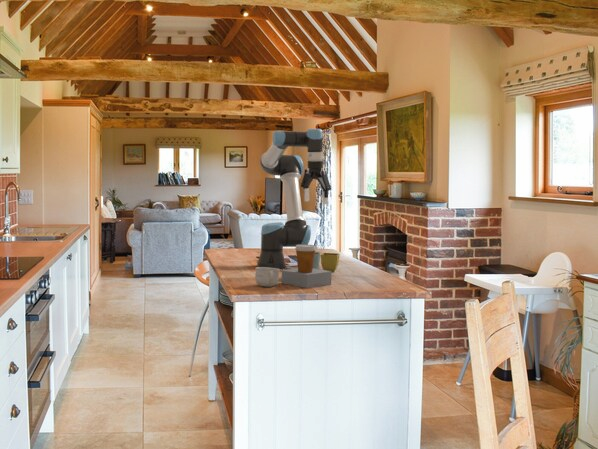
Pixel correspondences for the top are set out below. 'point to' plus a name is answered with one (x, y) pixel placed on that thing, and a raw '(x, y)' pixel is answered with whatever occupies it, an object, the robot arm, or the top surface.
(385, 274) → the top surface
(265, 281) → the teacup
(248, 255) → the top surface
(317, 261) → the grey-green cup
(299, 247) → the disposable coffee cup
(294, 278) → the riser block
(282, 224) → the robot arm
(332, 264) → the flower pot
